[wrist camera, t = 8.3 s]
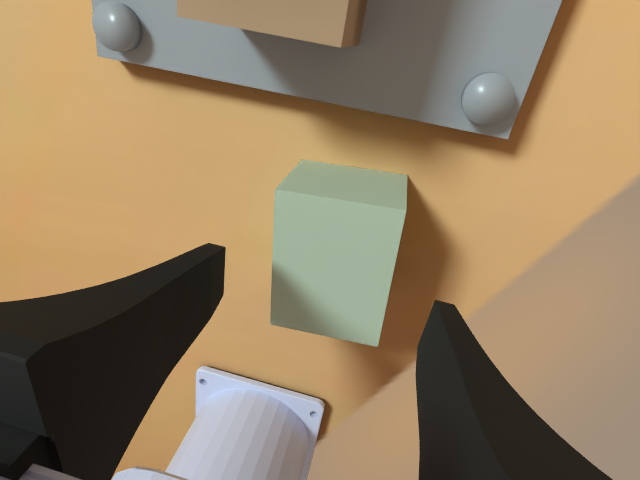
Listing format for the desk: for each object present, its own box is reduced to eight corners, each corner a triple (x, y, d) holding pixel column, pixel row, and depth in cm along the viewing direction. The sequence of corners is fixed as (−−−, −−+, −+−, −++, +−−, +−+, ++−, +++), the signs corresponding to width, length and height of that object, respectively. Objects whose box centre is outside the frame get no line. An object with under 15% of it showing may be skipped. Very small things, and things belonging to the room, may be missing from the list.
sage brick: (383, 291, 19) (377, 347, 16) (295, 273, 20) (270, 324, 16) (407, 173, 16) (406, 210, 13) (302, 158, 17) (274, 189, 13)
